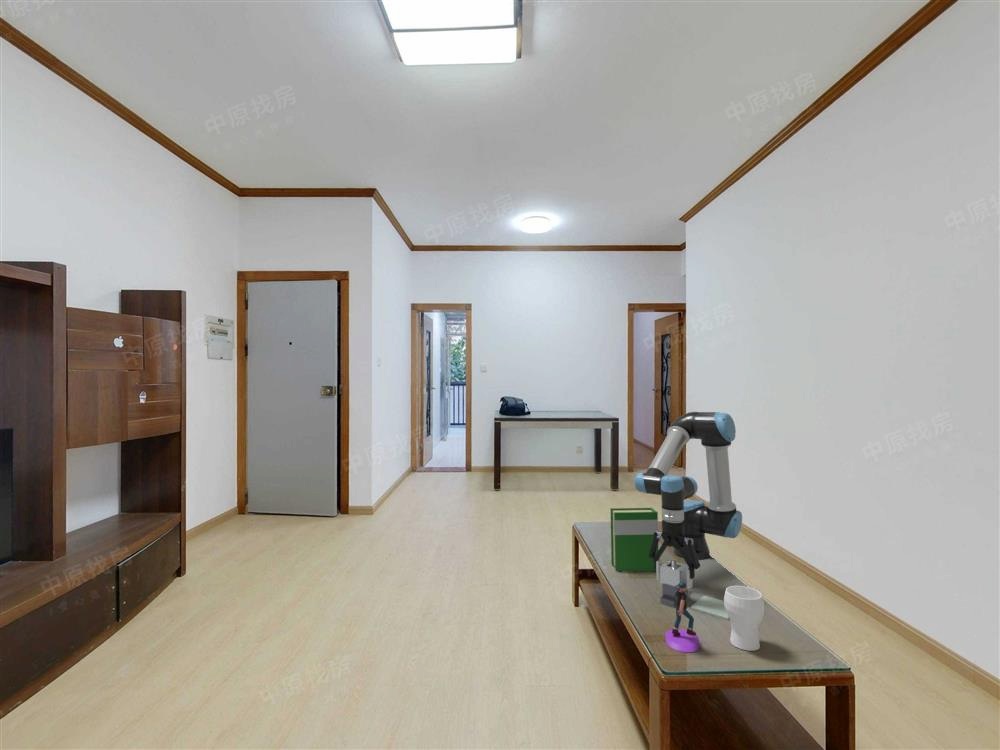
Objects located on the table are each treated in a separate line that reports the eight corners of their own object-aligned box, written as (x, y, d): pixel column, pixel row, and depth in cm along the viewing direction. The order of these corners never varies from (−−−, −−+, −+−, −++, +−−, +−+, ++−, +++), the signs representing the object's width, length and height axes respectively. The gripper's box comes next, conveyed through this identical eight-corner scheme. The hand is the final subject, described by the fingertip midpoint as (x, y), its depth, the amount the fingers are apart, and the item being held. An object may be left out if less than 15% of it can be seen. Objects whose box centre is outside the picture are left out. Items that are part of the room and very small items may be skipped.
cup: (717, 635, 146) (716, 585, 147) (751, 633, 147) (749, 584, 147) (738, 655, 136) (736, 601, 136) (773, 652, 137) (772, 599, 137)
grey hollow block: (668, 577, 176) (668, 560, 176) (687, 582, 171) (687, 565, 171) (660, 582, 171) (660, 565, 171) (679, 588, 166) (679, 570, 166)
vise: (678, 589, 180) (678, 552, 180) (692, 593, 176) (691, 555, 176) (660, 603, 168) (659, 564, 169) (674, 607, 165) (673, 567, 165)
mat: (704, 597, 173) (704, 595, 173) (740, 607, 164) (739, 605, 164) (690, 608, 164) (690, 606, 164) (727, 620, 156) (727, 618, 156)
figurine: (706, 649, 139) (704, 586, 139) (677, 654, 137) (675, 590, 137) (687, 633, 148) (685, 574, 148) (659, 637, 146) (658, 577, 146)
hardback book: (615, 571, 197) (614, 512, 197) (611, 565, 204) (610, 508, 205) (658, 571, 197) (657, 512, 198) (653, 564, 204) (651, 507, 205)
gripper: (638, 516, 177) (639, 577, 176) (701, 528, 161) (702, 595, 160) (647, 512, 182) (648, 571, 182) (709, 524, 166) (711, 588, 166)
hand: (674, 582), depth 171 cm, fingers open, 10 cm apart
